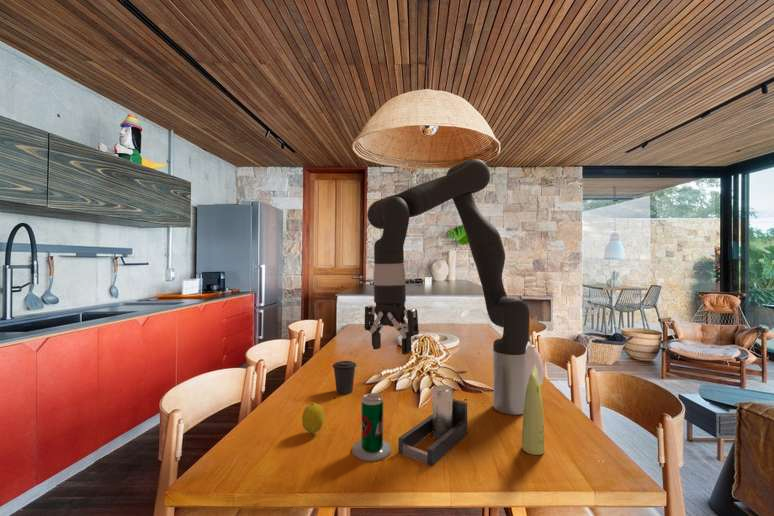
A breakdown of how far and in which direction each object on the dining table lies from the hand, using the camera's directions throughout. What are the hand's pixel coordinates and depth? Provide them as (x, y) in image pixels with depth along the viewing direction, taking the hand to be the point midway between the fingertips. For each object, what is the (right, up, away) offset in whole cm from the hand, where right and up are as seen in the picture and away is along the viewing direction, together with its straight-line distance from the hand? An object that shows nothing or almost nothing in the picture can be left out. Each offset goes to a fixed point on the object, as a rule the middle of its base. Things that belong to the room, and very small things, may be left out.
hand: (390, 351), depth 84 cm
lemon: (-20, -23, +7) cm, 31 cm away
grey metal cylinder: (+13, -23, +6) cm, 27 cm away
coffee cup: (-15, -23, +36) cm, 46 cm away
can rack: (+11, -23, +2) cm, 25 cm away
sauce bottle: (+49, -24, +38) cm, 66 cm away
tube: (+33, -23, -1) cm, 41 cm away
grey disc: (-5, -23, -1) cm, 23 cm away
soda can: (-4, -23, -1) cm, 23 cm away
